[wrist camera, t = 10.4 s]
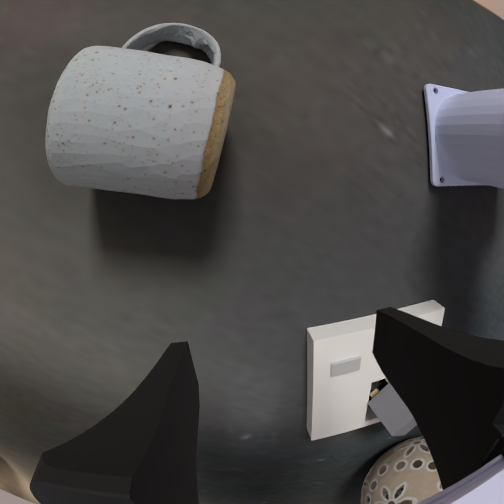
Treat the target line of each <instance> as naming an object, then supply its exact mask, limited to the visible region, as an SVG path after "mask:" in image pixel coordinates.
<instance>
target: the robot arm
mask: <svg viewBox="0 0 504 504" xmlns="http://www.w3.org/2000/svg"><path fill="white" fill-rule="evenodd" d="M433 89H434V90H435V93H434V91H433ZM424 96H425V105H426V114H427V124H428V137H429V154H430V181H431V184H432V185H433V186H465V185H489V186H494V187H499V188H503V189H504V89H494V90H485V91H476V92H466V91H462V90H457V89H453V88H448V87H443V86H438V85H433V84H426V85H425V86H424ZM440 178H441V182H440ZM372 353H373V355H374V357H375V359H376V361H377V363H378V365H379V367H380V369H381V371H382V372H383V374H384V375H385V377H386V378H387V380H388V381H389V382H390V384H391V385H392V387H393V388H394V389H395V391H396V392H397V394H398V395H399V396H400V398H401V399H402V401H403V402H404V403H405V405H406V406H407V408H408V409H409V411H410V412H411V414H412V416H413V417H414V419H415V421H416V423H417V425H418V427H419V429H420V431H421V433H422V435H423V437H424V439H425V442H426V444H427V446H428V448H429V451H430V453H431V456H432V458H433V461H434V464H435V466H436V469H437V472H438V475H439V478H440V482H441V485H442V488H443V491H441V492H439V493H437V494H435V495H433V496H431V497H429V498H427V499H425V500H423V501H421V502H419V503H417V504H504V341H502V340H494V339H487V338H481V337H477V336H472V335H468V334H464V333H461V332H457V331H454V330H451V329H448V328H445V327H442V326H439V325H437V324H434V323H431V322H429V321H426V320H424V319H421V318H419V317H416V316H414V315H411V314H409V313H406V312H403V311H401V310H398V309H395V308H391V307H388V308H384V309H380V310H377V313H376V324H375V333H374V342H373V351H372ZM198 420H199V386H198V380H197V377H196V373H195V369H194V365H193V361H192V357H191V353H190V349H189V345H188V342H178V343H171V344H170V345H169V347H168V348H167V349H166V351H165V352H164V354H163V355H162V356H161V358H160V359H159V361H158V362H157V363H156V365H155V366H154V367H153V369H152V370H151V371H150V373H149V374H148V375H147V377H146V378H145V379H144V380H143V382H142V383H141V384H140V385H139V386H138V387H137V388H136V390H135V391H134V392H133V393H132V394H131V395H130V396H129V397H128V398H127V399H126V400H125V401H124V402H123V403H122V404H121V405H120V406H119V407H118V408H116V409H115V410H114V411H113V412H112V413H110V414H109V415H108V416H106V417H105V418H104V419H103V420H101V421H100V422H99V423H97V424H96V425H95V426H93V427H92V428H90V429H88V430H87V431H85V432H84V433H82V434H80V435H79V436H77V437H75V438H73V439H72V440H70V441H68V442H66V443H64V444H61V445H59V446H57V447H55V448H53V449H50V450H48V451H46V452H43V453H42V455H41V457H40V460H39V462H38V465H37V467H36V470H35V472H34V475H33V478H32V480H31V483H30V490H31V492H32V494H33V496H34V497H35V498H36V499H37V500H38V501H39V502H40V503H41V504H199V502H198V491H197V477H196V446H197V433H198Z"/></svg>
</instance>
